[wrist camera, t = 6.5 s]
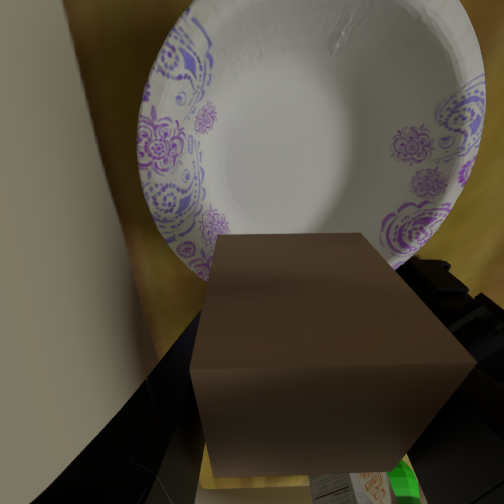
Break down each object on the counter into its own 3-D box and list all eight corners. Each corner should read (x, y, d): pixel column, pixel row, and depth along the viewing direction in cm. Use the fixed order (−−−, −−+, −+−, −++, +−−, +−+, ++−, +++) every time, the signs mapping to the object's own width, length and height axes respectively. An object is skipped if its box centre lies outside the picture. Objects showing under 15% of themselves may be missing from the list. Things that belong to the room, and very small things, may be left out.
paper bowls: (398, 212, 20) (476, 267, 13) (228, 266, 23) (221, 337, 16) (384, -47, 13) (548, -222, 6) (131, 78, 15) (38, 57, 8)
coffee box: (366, 413, 38) (436, 592, 24) (334, 429, 40) (381, 599, 26) (326, 394, 34) (381, 587, 21) (295, 413, 37) (324, 596, 23)
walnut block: (335, 330, 11) (391, 471, 7) (225, 332, 11) (213, 478, 7) (360, 232, 8) (478, 362, 4) (217, 234, 8) (189, 369, 4)
